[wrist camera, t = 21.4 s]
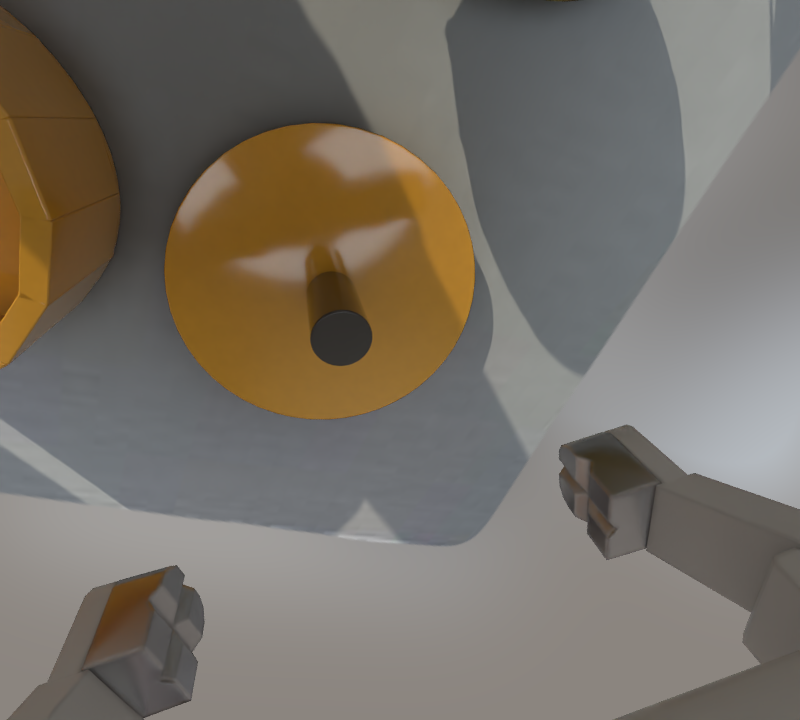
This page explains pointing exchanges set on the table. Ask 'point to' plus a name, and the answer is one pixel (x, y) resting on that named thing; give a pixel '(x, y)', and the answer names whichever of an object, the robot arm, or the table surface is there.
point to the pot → (48, 192)
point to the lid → (319, 271)
